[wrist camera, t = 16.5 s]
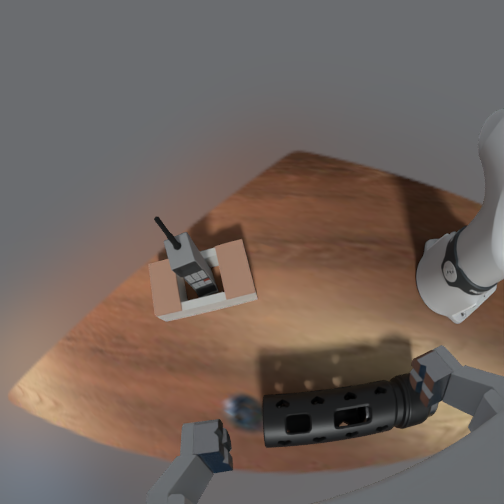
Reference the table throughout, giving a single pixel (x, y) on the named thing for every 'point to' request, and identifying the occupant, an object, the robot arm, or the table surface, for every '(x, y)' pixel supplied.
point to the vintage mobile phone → (188, 262)
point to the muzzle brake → (342, 412)
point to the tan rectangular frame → (177, 305)
